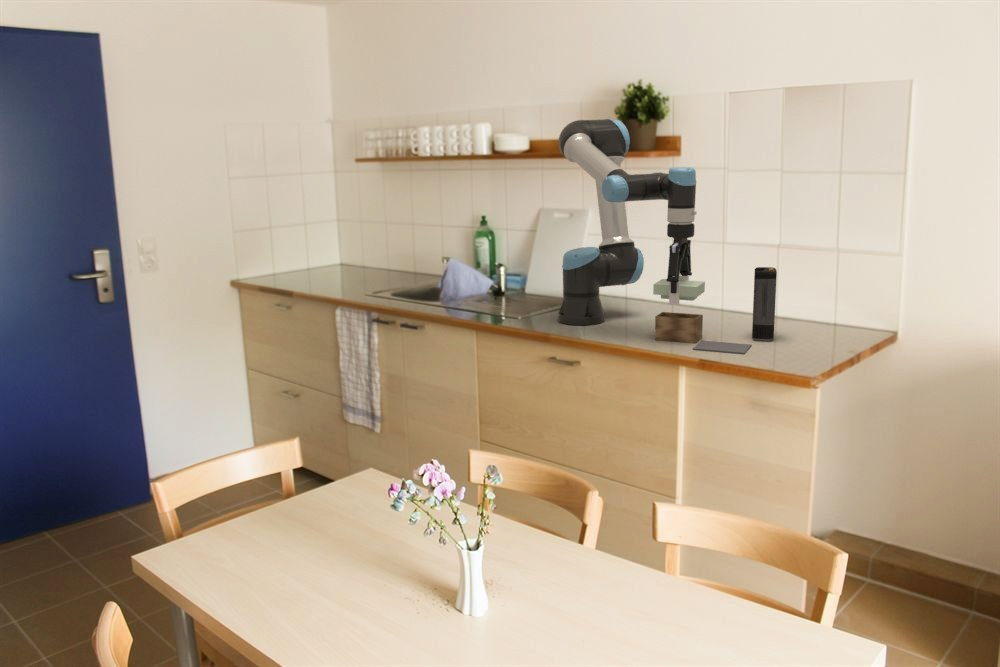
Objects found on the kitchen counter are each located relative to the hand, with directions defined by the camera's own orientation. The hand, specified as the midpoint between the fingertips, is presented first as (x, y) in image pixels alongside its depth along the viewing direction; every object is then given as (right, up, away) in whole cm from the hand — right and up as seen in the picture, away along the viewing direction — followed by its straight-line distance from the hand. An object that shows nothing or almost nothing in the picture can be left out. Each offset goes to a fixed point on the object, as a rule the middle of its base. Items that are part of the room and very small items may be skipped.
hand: (678, 300), depth 244 cm
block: (0, +2, -1) cm, 2 cm away
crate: (0, -11, +2) cm, 11 cm away
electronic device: (+25, -11, +1) cm, 27 cm away
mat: (+10, -13, -9) cm, 19 cm away
